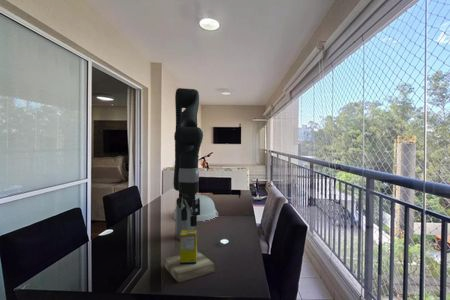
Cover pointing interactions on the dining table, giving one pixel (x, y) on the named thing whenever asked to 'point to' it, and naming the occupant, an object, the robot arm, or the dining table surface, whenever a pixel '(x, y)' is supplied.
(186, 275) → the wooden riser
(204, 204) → the dome cover
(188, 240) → the supplement box
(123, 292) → the dining table surface
